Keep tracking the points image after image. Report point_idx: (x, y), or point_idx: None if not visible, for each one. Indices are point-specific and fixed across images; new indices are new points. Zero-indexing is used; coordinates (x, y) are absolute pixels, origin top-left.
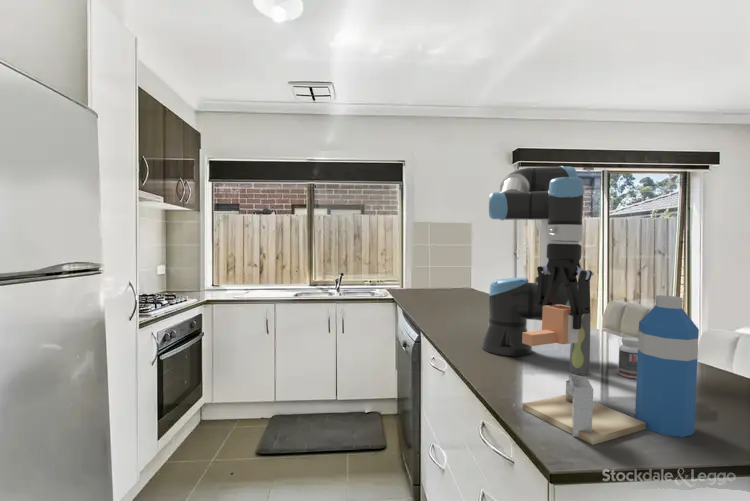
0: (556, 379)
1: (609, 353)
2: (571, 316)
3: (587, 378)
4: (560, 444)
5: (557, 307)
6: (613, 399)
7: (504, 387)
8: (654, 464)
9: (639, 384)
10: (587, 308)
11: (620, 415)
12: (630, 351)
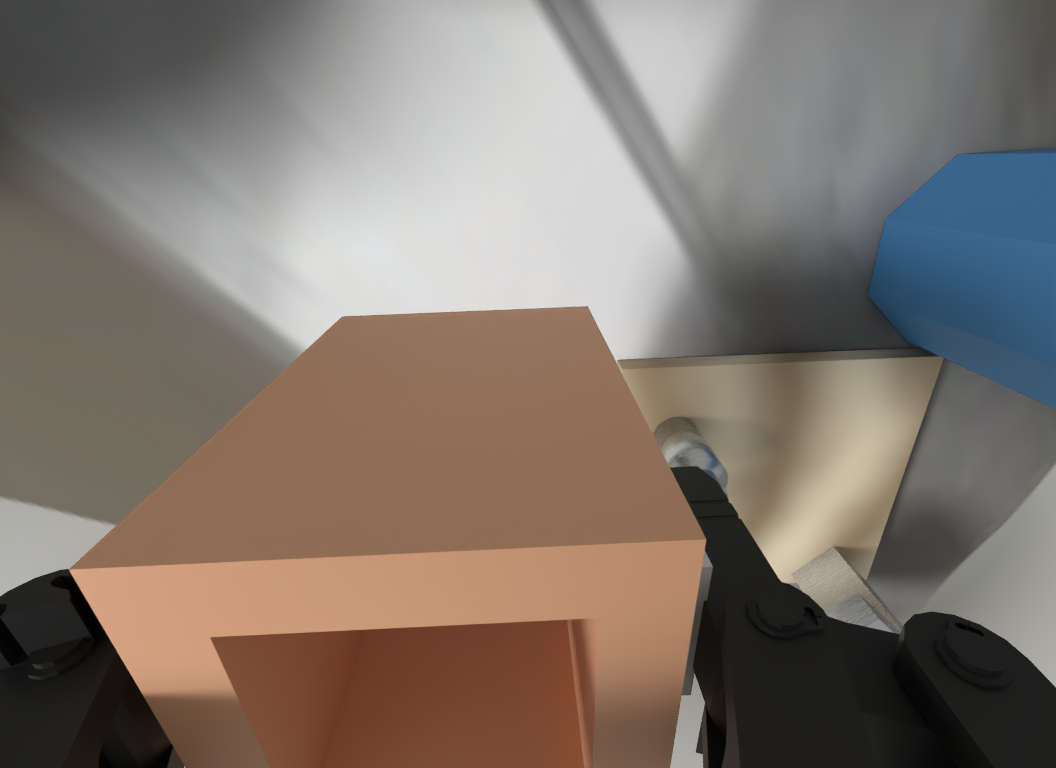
0: (390, 213)
1: None
2: (686, 674)
3: (888, 629)
4: None
5: (257, 659)
6: (714, 177)
7: None
8: (998, 516)
9: (1032, 380)
10: (1016, 736)
11: (856, 384)
12: None
